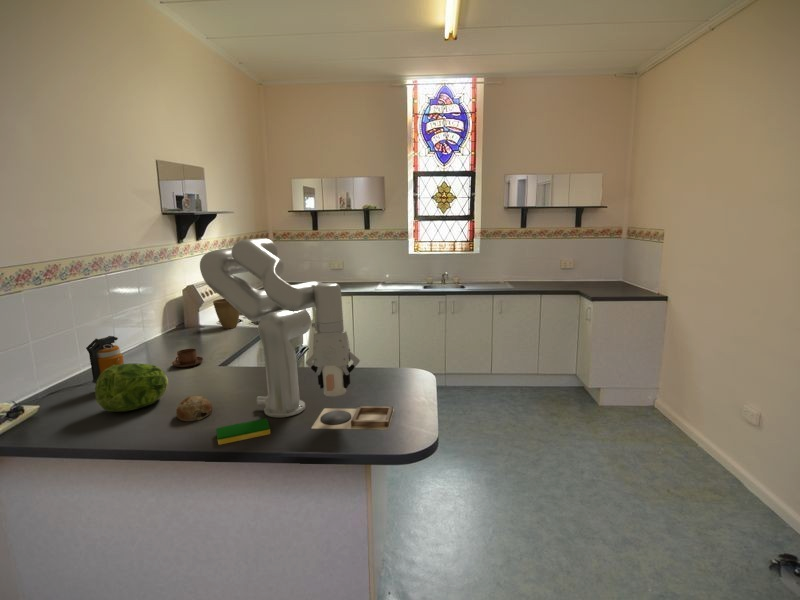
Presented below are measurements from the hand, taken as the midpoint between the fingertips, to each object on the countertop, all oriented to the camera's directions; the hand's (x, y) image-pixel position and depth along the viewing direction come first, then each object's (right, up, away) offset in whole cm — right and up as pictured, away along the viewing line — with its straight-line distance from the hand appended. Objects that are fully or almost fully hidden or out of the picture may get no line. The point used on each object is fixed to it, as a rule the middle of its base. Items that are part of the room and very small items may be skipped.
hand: (334, 386), depth 137 cm
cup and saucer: (-71, -3, +64) cm, 96 cm away
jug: (0, -2, -1) cm, 2 cm away
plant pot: (-78, +9, +133) cm, 155 cm away
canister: (-87, -8, +36) cm, 95 cm away
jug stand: (+6, -11, +1) cm, 12 cm away
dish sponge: (-25, -13, -4) cm, 29 cm away
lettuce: (-68, -10, +20) cm, 71 cm away
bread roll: (-46, -11, +11) cm, 48 cm away
